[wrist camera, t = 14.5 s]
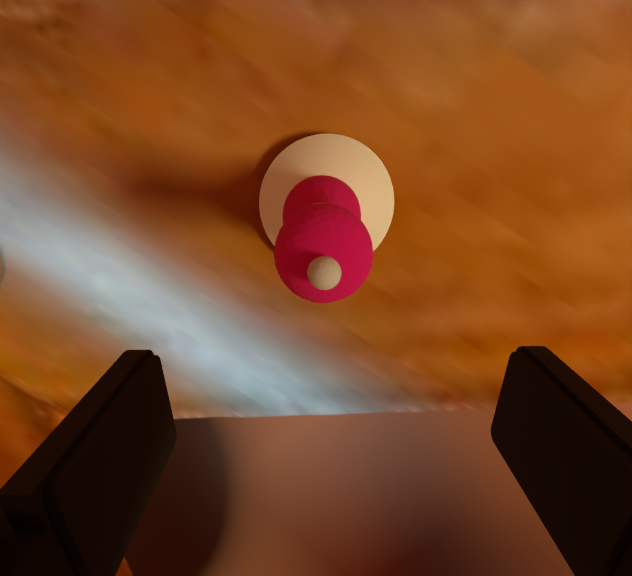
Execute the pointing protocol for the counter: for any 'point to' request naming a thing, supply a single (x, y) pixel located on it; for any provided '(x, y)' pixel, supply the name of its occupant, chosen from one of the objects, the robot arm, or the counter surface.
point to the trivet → (337, 161)
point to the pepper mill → (323, 241)
